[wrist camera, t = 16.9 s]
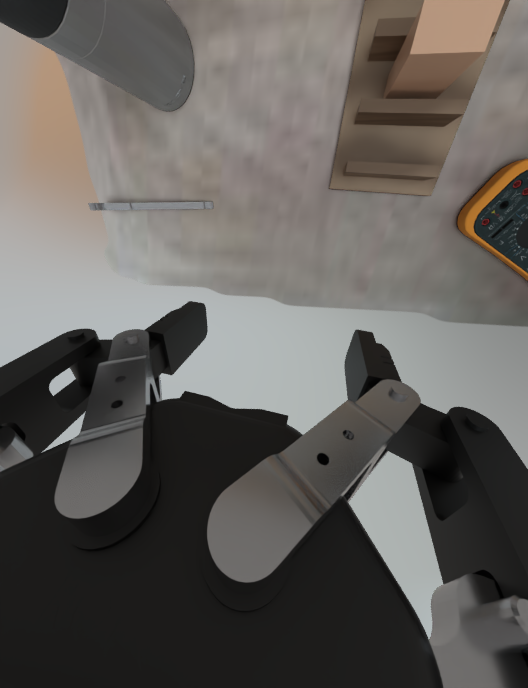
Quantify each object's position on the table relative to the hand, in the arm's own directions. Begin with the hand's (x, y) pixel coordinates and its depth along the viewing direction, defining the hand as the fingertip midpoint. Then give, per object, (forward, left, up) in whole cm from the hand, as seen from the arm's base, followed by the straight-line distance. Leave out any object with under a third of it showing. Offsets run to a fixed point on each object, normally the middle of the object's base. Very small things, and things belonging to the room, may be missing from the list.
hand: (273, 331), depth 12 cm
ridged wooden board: (-8, +17, -30) cm, 36 cm away
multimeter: (+14, +25, -31) cm, 42 cm away
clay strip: (-8, +17, -29) cm, 34 cm away
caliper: (-20, -19, -31) cm, 41 cm away
